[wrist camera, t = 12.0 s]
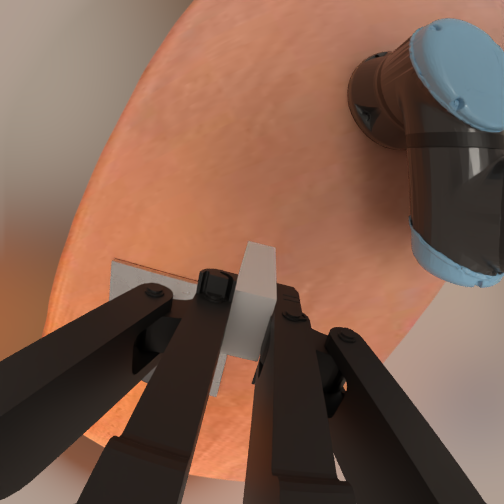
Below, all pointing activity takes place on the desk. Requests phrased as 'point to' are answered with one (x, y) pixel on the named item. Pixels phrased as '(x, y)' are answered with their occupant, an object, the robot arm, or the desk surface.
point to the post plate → (182, 288)
